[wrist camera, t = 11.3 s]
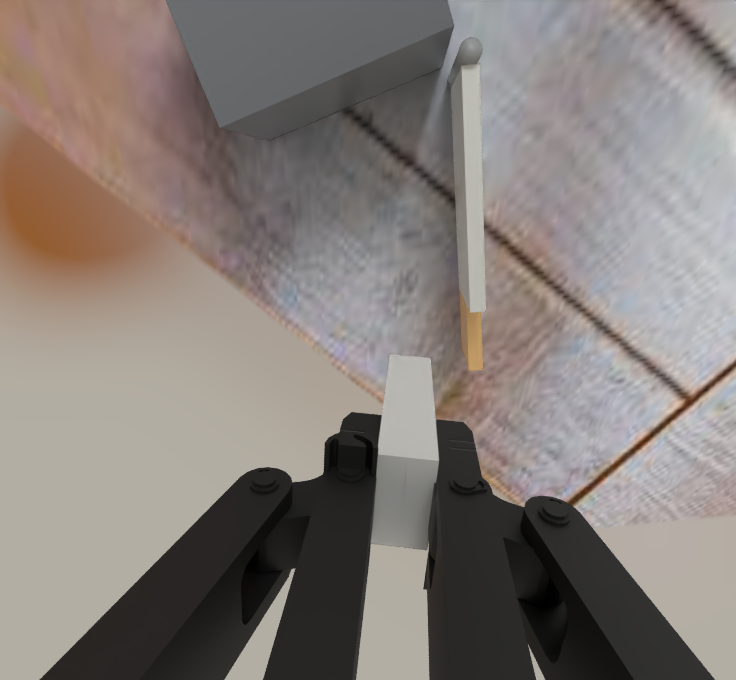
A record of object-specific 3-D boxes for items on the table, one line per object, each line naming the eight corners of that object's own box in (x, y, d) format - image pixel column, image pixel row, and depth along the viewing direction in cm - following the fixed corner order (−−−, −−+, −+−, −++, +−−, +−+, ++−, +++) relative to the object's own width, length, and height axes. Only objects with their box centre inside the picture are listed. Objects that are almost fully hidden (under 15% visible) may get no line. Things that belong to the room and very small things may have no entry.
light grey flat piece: (447, 71, 27) (458, 39, 21) (465, 68, 27) (482, 36, 21) (459, 344, 32) (471, 384, 26) (474, 344, 32) (489, 383, 26)
